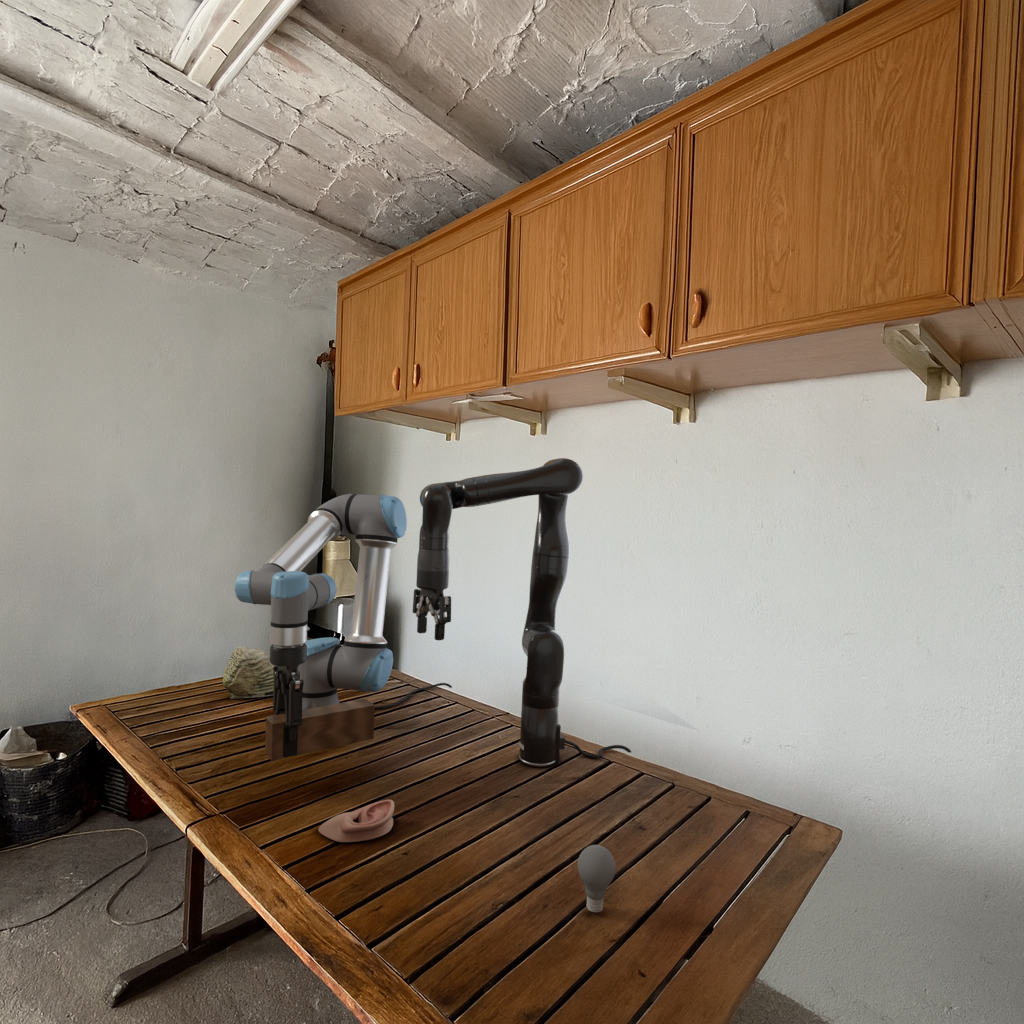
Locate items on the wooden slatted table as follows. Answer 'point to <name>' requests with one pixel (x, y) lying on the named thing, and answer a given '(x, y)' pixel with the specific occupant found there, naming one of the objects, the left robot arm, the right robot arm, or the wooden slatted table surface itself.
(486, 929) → the wooden slatted table surface
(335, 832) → the anatomical model
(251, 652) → the fossil
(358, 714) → the bar
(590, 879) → the light bulb
